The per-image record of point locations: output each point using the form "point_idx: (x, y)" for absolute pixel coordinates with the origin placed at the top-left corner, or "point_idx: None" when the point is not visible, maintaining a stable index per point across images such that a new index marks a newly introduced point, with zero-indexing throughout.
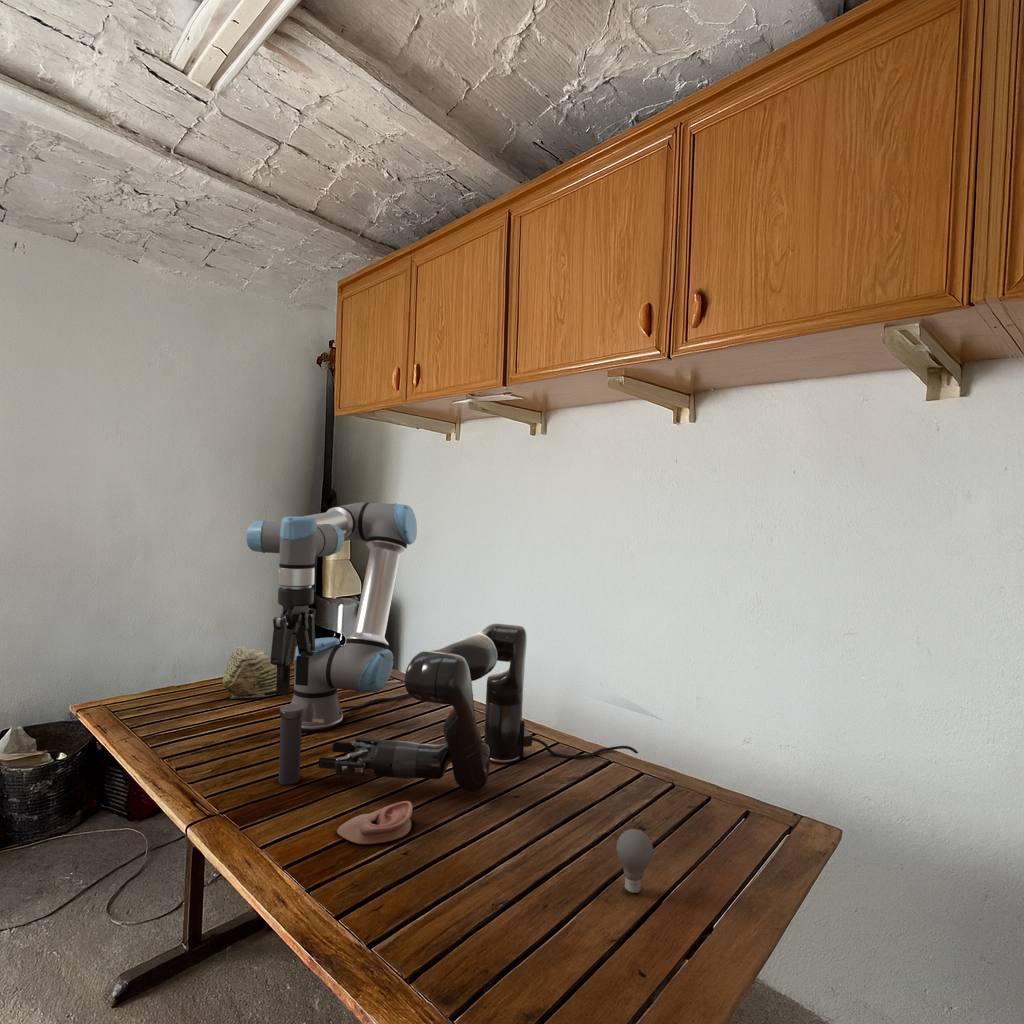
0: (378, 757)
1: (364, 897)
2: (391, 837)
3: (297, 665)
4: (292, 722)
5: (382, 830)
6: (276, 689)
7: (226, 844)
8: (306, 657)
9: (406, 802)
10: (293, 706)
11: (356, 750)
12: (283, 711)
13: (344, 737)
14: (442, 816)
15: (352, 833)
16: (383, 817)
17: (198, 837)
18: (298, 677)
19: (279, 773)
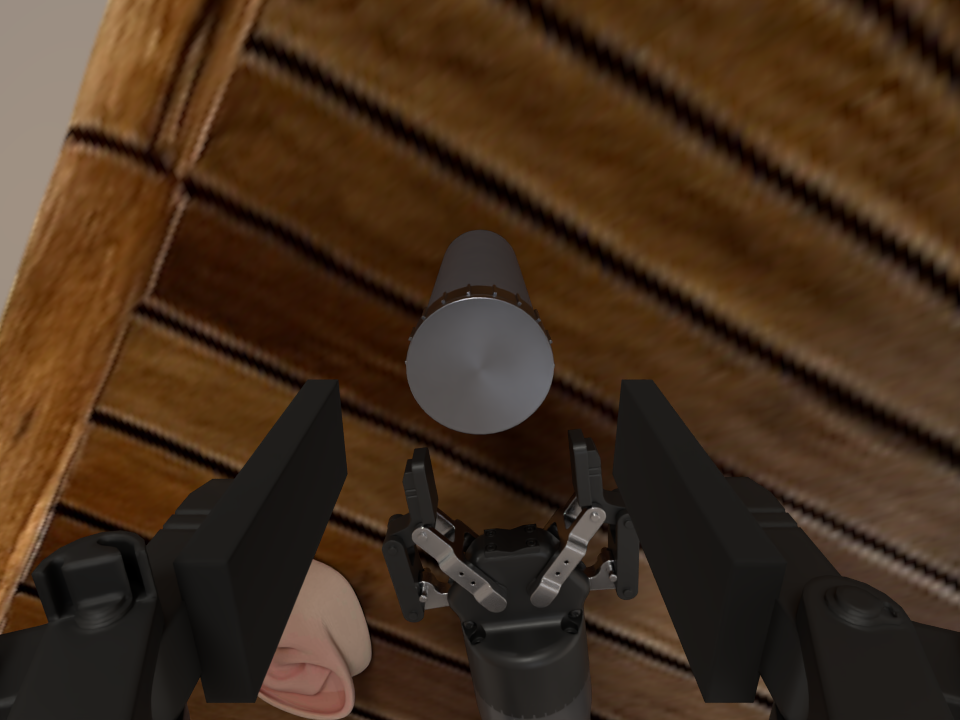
0: (468, 649)
1: None
2: None
3: (681, 494)
4: None
5: None
6: (294, 400)
7: (56, 320)
8: (705, 689)
9: (344, 706)
10: (507, 365)
11: (520, 556)
12: (409, 349)
13: (929, 267)
14: (415, 713)
15: None
16: (285, 661)
17: (37, 216)
18: (635, 439)
19: (447, 251)
